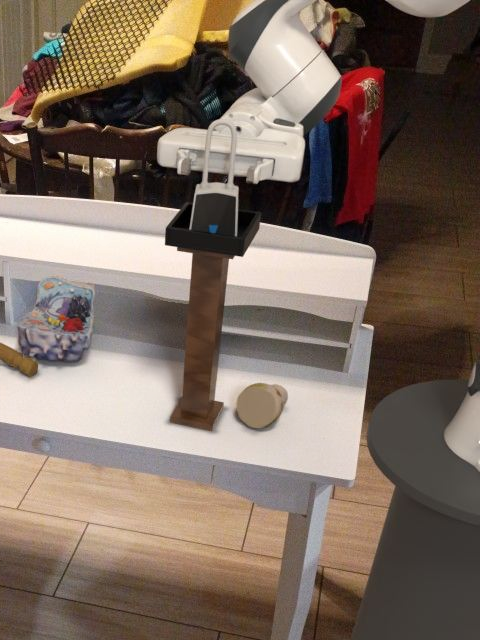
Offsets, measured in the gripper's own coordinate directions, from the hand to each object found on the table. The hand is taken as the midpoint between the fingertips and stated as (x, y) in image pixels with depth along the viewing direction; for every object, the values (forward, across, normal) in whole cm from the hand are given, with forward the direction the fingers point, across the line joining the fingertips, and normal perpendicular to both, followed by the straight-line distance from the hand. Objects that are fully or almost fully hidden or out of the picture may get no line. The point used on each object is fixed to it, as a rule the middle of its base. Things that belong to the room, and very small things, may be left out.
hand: (216, 173), depth 113 cm
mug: (-4, +10, +39) cm, 41 cm away
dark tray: (-1, 0, +9) cm, 9 cm away
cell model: (-23, -32, +34) cm, 53 cm away
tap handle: (-2, -30, +38) cm, 48 cm away
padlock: (-1, 0, +9) cm, 9 cm away
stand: (-1, 0, +39) cm, 39 cm away
